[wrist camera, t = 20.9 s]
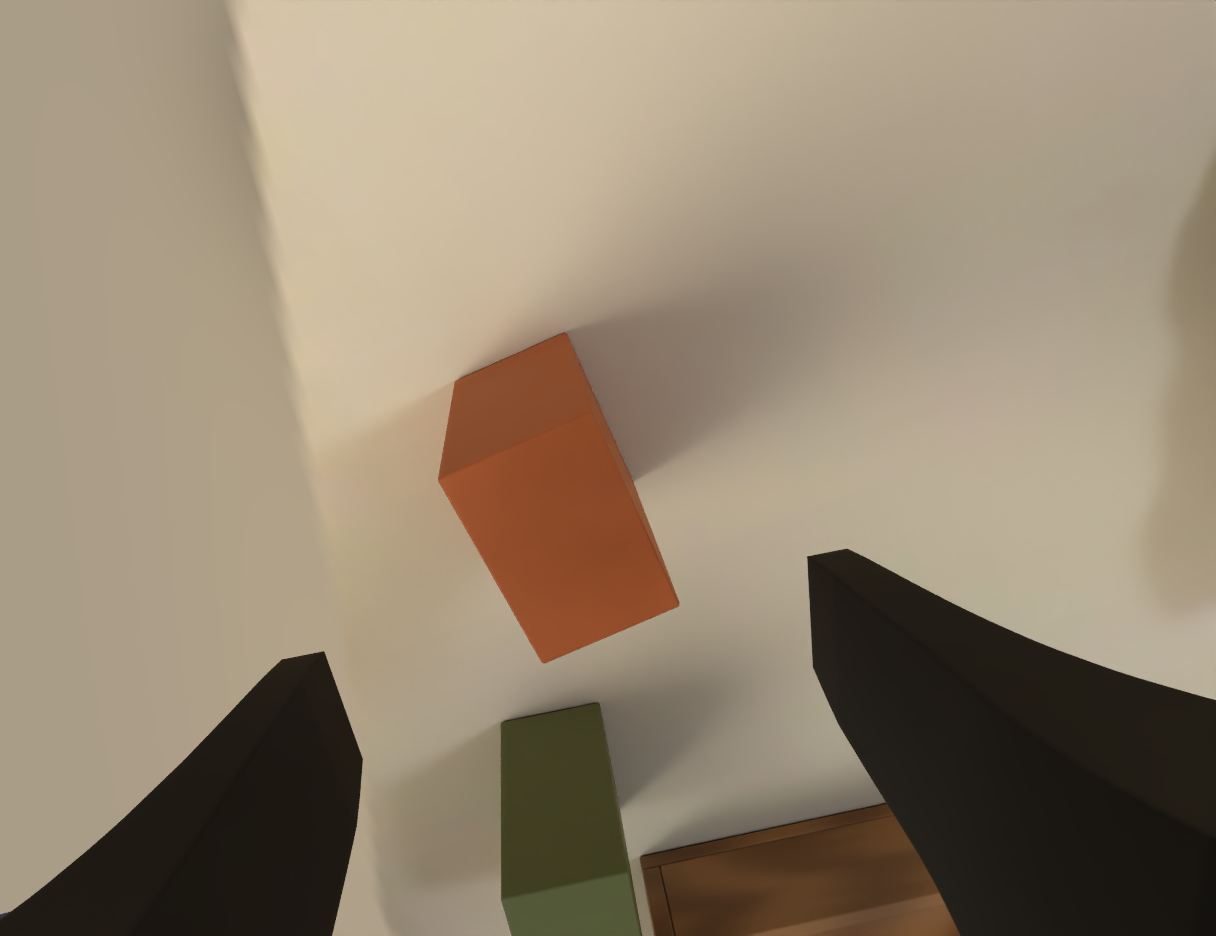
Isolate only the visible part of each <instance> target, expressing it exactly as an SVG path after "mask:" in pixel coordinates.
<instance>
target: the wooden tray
mask: <svg viewBox="0 0 1216 936" xmlns="http://www.w3.org/2000/svg"><path fill="white" fill-rule="evenodd" d="M640 862H641V868H642V873H643V879H644V884H645V890H646V895H647V900H648V906H649V911H650V917H651V922H652V928H653V933H654V936H960V934H959V932H958V930H957V928H956V926H955V924H954V921H953V919H952V917H951V915H950V913H949V911H948V909H947V907H946V905H945V903H944V901H943V899H942V897H941V895H940V893H939V891H938V889H937V887H936V885H935V883H934V881H933V880H932V878H931V876H930V874H929V872H928V871H927V869H926V867H925V865H924V864H923V862H922V860H921V858H920V856H919V855H918V853H917V851H916V850H915V848H914V846H913V845H912V843H911V842H910V840H909V838H908V837H907V835H906V834H905V832H904V830H903V829H902V827H901V825H900V824H899V822H898V821H897V819H896V817H895V816H894V814H893V813H892V811H891V809H890V808H889V806H888V804H884V805H879V806H875V807H870V808H865V809H861V810H856V811H851V812H847V813H842V814H838V815H833V816H828V817H824V818H819V819H814V820H810V821H805V822H801V823H796V824H791V825H787V826H782V827H777V828H773V829H768V830H763V831H759V832H754V833H750V834H745V835H740V836H736V837H731V838H726V839H722V840H717V841H713V842H708V843H703V844H699V845H694V846H689V847H685V848H680V849H675V850H671V851H666V852H662V853H657V854H652V855H648V856H643V857H640Z"/></svg>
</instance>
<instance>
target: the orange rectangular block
mask: <svg viewBox="0 0 1216 936" xmlns="http://www.w3.org/2000/svg"><path fill="white" fill-rule="evenodd" d="M438 481H439V483H440V485H441V486H442V488H443V490H444V492H445V493H446V495H447V497H448V499H449V500H450V502H451V504H452V506H453V507H454V509H455V511H456V513H457V514H458V516H459V518H460V520H461V521H462V523H463V525H464V527H465V529H466V530H467V532H468V534H469V536H470V537H471V539H472V541H473V543H474V544H475V546H476V548H477V550H478V551H479V553H480V555H481V557H482V558H483V560H484V562H485V564H486V565H487V567H488V569H489V571H490V572H491V574H492V576H493V578H494V579H495V581H496V583H497V585H498V587H499V588H500V590H501V592H502V594H503V595H504V597H505V599H506V601H507V602H508V604H509V606H510V608H511V609H512V611H513V613H514V615H515V616H516V618H517V620H518V622H519V623H520V625H521V627H522V629H523V630H524V632H525V634H526V636H527V637H528V639H529V641H530V643H531V645H532V646H533V648H534V650H535V652H536V653H537V655H538V657H539V659H540V660H541V662H542V663H547V662H549V661H552V660H554V659H556V658H559V657H561V656H563V655H566V654H568V653H570V652H573V651H575V650H577V649H580V648H582V647H584V646H587V645H589V644H592V643H594V642H596V641H599V640H601V639H603V638H606V637H608V636H610V635H613V634H615V633H617V632H620V631H622V630H624V629H627V628H629V627H631V626H634V625H636V624H638V623H641V622H643V621H646V620H648V619H650V618H653V617H655V616H657V615H660V614H662V613H664V612H667V611H669V610H671V609H674V608H676V607H678V606H679V600H678V598H677V595H676V593H675V590H674V587H673V585H672V582H671V579H670V577H669V574H668V572H667V569H666V566H665V564H664V561H663V559H662V556H661V553H660V551H659V548H658V545H657V543H656V540H655V538H654V535H653V532H652V530H651V527H650V525H649V522H648V519H647V517H646V514H645V512H644V509H643V506H642V504H641V501H640V498H639V496H638V493H637V491H636V488H635V485H634V483H633V480H632V478H631V476H630V474H629V472H628V469H627V467H626V465H625V463H624V460H623V458H622V456H621V454H620V451H619V449H618V447H617V445H616V442H615V440H614V438H613V436H612V434H611V431H610V429H609V427H608V425H607V422H606V420H605V418H604V416H603V413H602V411H601V409H600V407H599V405H598V402H597V400H596V398H595V396H594V393H593V391H592V389H591V387H590V384H589V382H588V380H587V378H586V375H585V373H584V371H583V369H582V367H581V364H580V362H579V360H578V358H577V355H576V353H575V351H574V349H573V346H572V344H571V342H570V340H569V338H568V335H567V334H566V333H562V334H560V335H558V336H556V337H553V338H551V339H549V340H547V341H544V342H542V343H540V344H538V345H535V346H533V347H531V348H529V349H526V350H524V351H522V352H520V353H517V354H515V355H513V356H511V357H508V358H506V359H504V360H502V361H499V362H497V363H495V364H493V365H490V366H488V367H486V368H484V369H481V370H479V371H477V372H475V373H472V374H470V375H468V376H466V377H463V378H461V379H459V380H457V381H455V384H454V390H453V396H452V402H451V408H450V413H449V419H448V425H447V431H446V437H445V443H444V448H443V454H442V460H441V466H440V472H439V477H438Z"/></svg>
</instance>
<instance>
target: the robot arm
mask: <svg viewBox="0 0 1216 936" xmlns="http://www.w3.org/2000/svg"><path fill="white" fill-rule="evenodd" d="M807 559H808V578H809V598H810V618H811V637H812V657H813V668H814V670H815V673H816V675H817V677H818V680H819V682H820V684H821V687H822V689H823V691H824V693H825V696H826V698H827V700H828V702H829V705H830V707H831V709H832V711H833V713H834V715H835V718H836V720H837V722H838V724H839V726H840V728H841V729H842V731H843V733H844V734H845V736H846V738H847V739H848V741H849V743H850V744H851V746H852V748H853V749H854V751H855V752H856V754H857V756H858V757H859V759H860V761H861V762H862V764H863V766H864V767H865V769H866V771H867V772H868V774H869V775H870V777H871V779H872V780H873V782H874V783H875V785H876V787H877V788H878V790H879V792H880V793H881V795H882V796H883V798H884V800H885V801H886V803H887V804H888V806H889V808H890V809H891V811H892V813H893V814H894V816H895V817H896V819H897V821H898V822H899V824H900V825H901V827H902V829H903V830H904V832H905V834H906V835H907V837H908V838H909V840H910V842H911V843H912V845H913V846H914V848H915V850H916V851H917V853H918V855H919V856H920V858H921V860H922V862H923V864H924V865H925V867H926V869H927V871H928V872H929V874H930V876H931V878H932V880H933V881H934V883H935V885H936V887H937V889H938V891H939V893H940V895H941V897H942V899H943V901H944V903H945V905H946V907H947V909H948V911H949V913H950V915H951V917H952V919H953V921H954V924H955V926H956V928H957V930H958V932H959V934H960V936H1216V700H1214V699H1209V698H1206V697H1202V696H1198V695H1195V694H1191V693H1188V692H1184V691H1181V690H1177V689H1174V688H1170V687H1167V686H1163V685H1160V684H1156V683H1153V682H1149V681H1146V680H1142V679H1139V678H1136V677H1133V676H1130V675H1127V674H1124V673H1121V672H1117V671H1114V670H1111V669H1108V668H1106V667H1103V666H1100V665H1097V664H1094V663H1092V662H1089V661H1086V660H1083V659H1081V658H1078V657H1075V656H1072V655H1070V654H1067V653H1064V652H1061V651H1059V650H1056V649H1053V648H1051V647H1048V646H1046V645H1043V644H1041V643H1038V642H1036V641H1034V640H1031V639H1029V638H1027V637H1024V636H1022V635H1020V634H1017V633H1015V632H1013V631H1011V630H1008V629H1006V628H1004V627H1002V626H999V625H997V624H995V623H993V622H990V621H988V620H986V619H984V618H982V617H980V616H978V615H976V614H973V613H971V612H969V611H967V610H965V609H963V608H961V607H959V606H957V605H955V604H953V603H951V602H949V601H947V600H945V599H943V598H941V597H939V596H937V595H935V594H933V593H931V592H929V591H927V590H926V589H924V588H922V587H920V586H918V585H916V584H914V583H912V582H910V581H909V580H907V579H905V578H903V577H901V576H899V575H897V574H895V573H894V572H892V571H890V570H888V569H886V568H884V567H882V566H880V565H879V564H877V563H875V562H873V561H871V560H869V559H867V558H865V557H863V556H861V555H859V554H857V553H855V552H853V551H851V550H849V549H843V550H838V551H833V552H828V553H823V554H818V555H813V556H807ZM362 762H363V758H362V756H361V753H360V750H359V747H358V744H357V742H356V739H355V736H354V733H353V731H352V728H351V725H350V722H349V719H348V717H347V714H346V711H345V708H344V705H343V703H342V700H341V697H340V694H339V691H338V689H337V686H336V683H335V680H334V678H333V675H332V672H331V669H330V666H329V664H328V661H327V658H326V655H325V652H319V653H313V654H308V655H303V656H298V657H293V658H288V659H283V660H281V661H280V662H279V663H278V664H277V665H276V666H275V667H274V668H272V669H271V670H270V671H269V672H268V673H267V674H266V675H265V676H264V677H263V678H262V679H261V680H260V681H259V682H258V683H257V685H255V687H254V688H253V689H252V690H251V691H250V692H249V693H248V694H247V695H246V696H245V697H244V698H243V699H242V700H241V701H240V702H239V704H238V705H236V707H235V708H234V709H233V710H232V711H231V712H230V713H229V714H228V715H227V716H226V717H225V718H224V719H223V720H222V721H221V722H220V723H219V724H218V725H217V727H216V728H215V729H214V730H213V731H212V732H211V733H210V734H209V735H208V736H207V737H206V738H205V739H204V740H203V741H202V742H201V743H200V744H199V745H198V746H197V747H196V749H194V750H193V751H192V753H191V754H190V755H189V756H188V757H187V758H186V759H185V760H184V761H183V762H182V763H181V764H180V765H179V766H178V767H177V768H175V769H174V770H173V771H172V773H170V774H169V775H168V776H167V777H166V778H165V779H164V780H163V781H162V782H161V783H160V784H159V785H158V786H157V787H156V788H155V789H154V790H153V791H152V792H150V794H148V795H147V797H145V798H144V799H143V800H142V801H141V802H140V803H139V804H138V805H137V806H136V807H135V808H134V809H133V810H132V811H131V812H130V813H129V814H128V815H127V816H126V817H125V818H123V819H122V820H121V821H120V822H119V823H118V824H117V825H116V826H115V827H114V828H112V829H111V830H110V831H109V832H108V833H107V834H106V835H105V836H103V837H102V838H101V839H100V840H99V841H98V842H97V843H96V844H94V845H93V846H92V847H91V848H90V849H89V850H87V851H86V852H85V853H84V854H83V855H81V856H80V857H79V858H78V859H77V860H75V861H74V862H73V863H72V864H71V865H69V866H68V867H67V868H66V869H64V870H63V871H62V872H61V873H60V874H58V875H57V876H56V877H55V878H54V879H52V880H51V881H50V882H49V883H48V884H47V885H45V886H44V887H43V888H41V889H40V890H39V891H38V892H36V893H35V894H34V895H33V896H31V897H30V898H29V899H27V900H26V901H25V902H23V903H22V904H21V905H19V906H18V907H17V908H15V909H14V910H13V911H11V912H10V913H9V914H7V915H6V916H5V917H3V918H2V919H0V936H332V933H333V929H334V924H335V920H336V916H337V912H338V907H339V903H340V899H341V894H342V890H343V886H344V881H345V877H346V873H347V868H348V864H349V859H350V855H351V850H352V846H353V841H354V836H355V831H356V827H357V818H358V809H359V799H360V788H361V775H362Z"/></svg>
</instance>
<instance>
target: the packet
mask: <svg viewBox="0 0 1216 936" xmlns="http://www.w3.org/2000/svg"><path fill="white" fill-rule="evenodd" d="M501 900H502V904H503V907H504V911H505V914H506V918H507V921H508V924H509V928H510V931H511V935H512V936H642V932H641V927H640V921H639V915H638V910H637V904H636V898H635V893H634V887H633V881H632V876H631V870H630V864H629V859H628V853H627V847H626V842H625V836H624V831H623V825H622V819H621V814H620V808H619V803H618V798H617V792H616V787H615V782H614V777H613V771H612V766H611V761H610V756H609V751H608V745H607V740H606V735H605V730H604V724H603V719H602V714H601V709H600V704H599V703H595V704H590V705H585V706H580V707H575V708H571V709H566V710H561V711H556V712H551V713H546V714H541V715H536V716H531V717H526V718H521V719H516V720H512V721H507V722H502V723H501Z"/></svg>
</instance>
